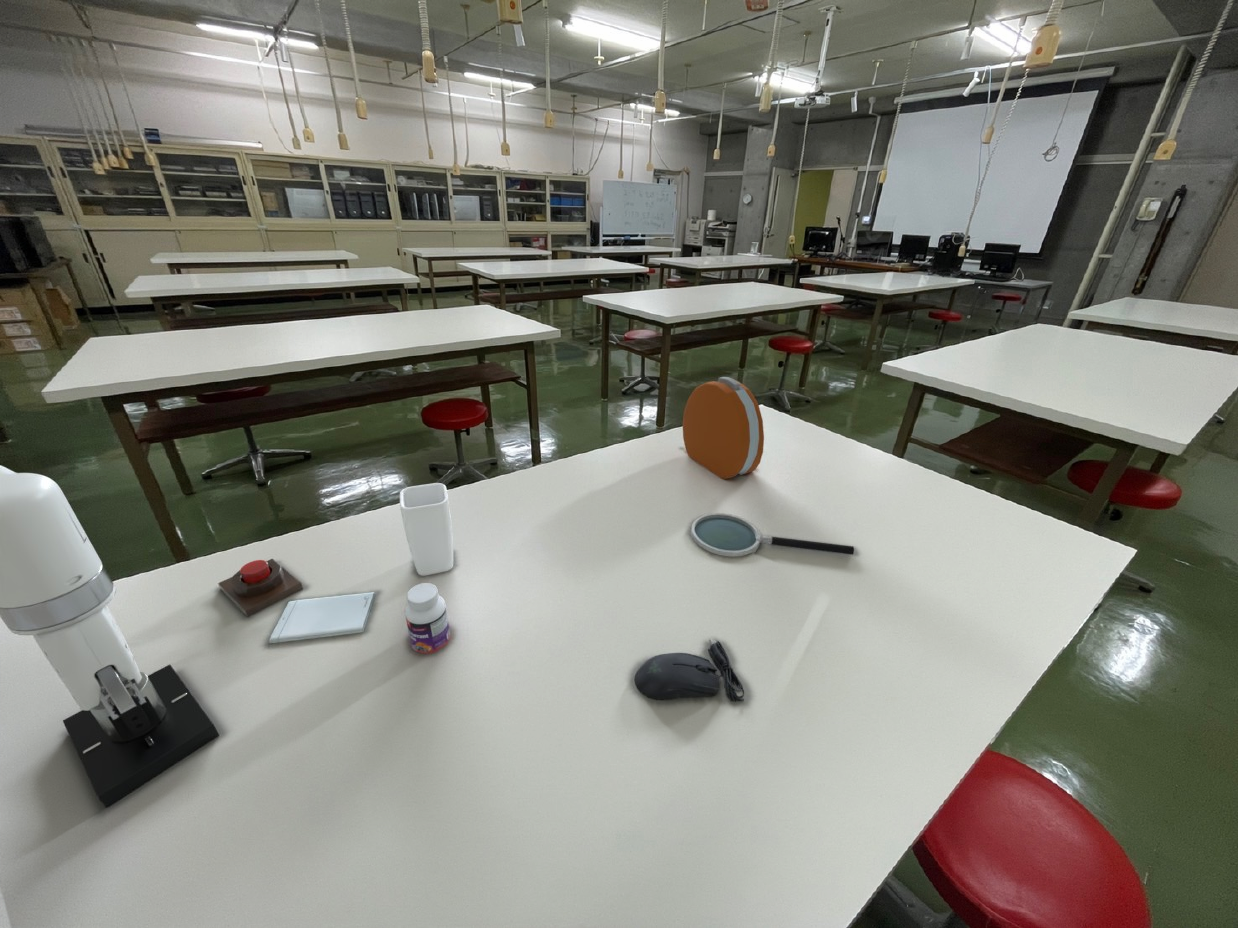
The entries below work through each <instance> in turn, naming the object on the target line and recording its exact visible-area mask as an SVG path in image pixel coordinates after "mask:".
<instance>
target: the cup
mask: <svg viewBox="0 0 1238 928" xmlns="http://www.w3.org/2000/svg"><path fill="white" fill-rule="evenodd" d="M399 508H400V509H399V510H400V513H401V518H402V519H401V520H402V523H403V528H404V532H405V533H404V534H405V537H406V541H407V545H408V549H409V552H410V555H411V558H412V562H413V564H414V567H415V570H416V572H417V574H418V575H419V576H429V575H430V576H431V575H436V574H441V573H445V572H448V571H450V570H451V569H453V567H454V537H453V524H452V517H451V515H452V514H451V509H450V502H449V496H448V490H447V486H446V485H445V484H444V483H440V482H433V483H427V484H420V485H413V486H407V487H405V488H403V489H402V490H400V492H399Z"/></svg>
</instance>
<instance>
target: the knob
mask: <svg viewBox="0 0 1238 928" xmlns="http://www.w3.org/2000/svg"><path fill="white" fill-rule="evenodd" d="M139 672H140V674H141V676H142V679H141V681H140V683H139V684H138V685H137V683H135V684H136V686H137V687H138V689H139V691H140V692H141V694H142V696H143V697H145V696H147V698H148V699H149V701H150V703H151V704H152V706H153V708H154V709H155V711H156V713H157V714H158V716H159V718H160V719H161V720H162V719H163V717H164V715H165V713H166V708H165V706H164V704H163V702H162V700H161V699H160V697H159V695H158V694H157V692H156V690H155V688H154V687H153V685H152V683H151V682H150V680H149V678H148V674H146V673H145V672H143V671H140V670H139ZM126 680H127V679H126V678H123V679H121V681H122V682H124V681H126ZM101 691H102V692H104V691H106V689H105V688H103V689H101ZM127 691H128V693H129V694H130V696H132V695H134V694H133V692H132V691H131V689H130V688H129V689H127ZM109 700H110V702H111V703H112V705H113V706H114V705H115V704H114V702H113V700H112V699H111V698H110V699H109ZM90 711H91V713H92V714H93V716H94V717H95V718H96V720H97V721H98V723H99V724H100V726H101V727H102V729H103V730H104V731H105V733H106V734H107V736H108V737H109V739H110V740H111V741H113V742H124V741H123V739H122V738H121V736H120V735H119V733H118V732H117V730H116V729H115V727H114V726H113V724H112V723H111V721H110V720H109V718H108V717H109V716H110V714H109V713H108V711H107V710H106V708H105V706H104V705H103V703H102V702H101V701H100V702H99V705H97V706H95V707H93V708H91V710H90ZM160 722H161V721H160ZM157 725H158V724H157ZM157 725H155V726H154V727H156V726H157ZM154 727H152V728H150V729H149V730H147V731H145V732H144V733H142V734H140V735H138V736H137V737H135V738H133V739H132V740H134V739H136V738H139V737H141V736H143V735H144V734H146V733H148V732H149V731H151V730H152V729H153V728H154ZM130 741H131V740H130Z"/></svg>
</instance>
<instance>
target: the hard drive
mask: <svg viewBox="0 0 1238 928" xmlns="http://www.w3.org/2000/svg"><path fill="white" fill-rule="evenodd" d="M375 598H376V592H375V591H373V592H372V591H371V592H363V593H362V592H361V593H353V594H343V595H334V596H324V597H316V598H306V599H297V600H290V601H288V603H287V604H286V606H285V608H284V610H283V612H282V614H281V615H280V618H279V619H278V621H277V623H276V625H275V627H274V629H273V631H272V633H271V635H270V636H269V639H268V643H269V644H275V643H283V642H292V641H293V642H294V641H301V640H308V639H317V638H325V637H326V638H327V637H334V636H343V635H351V634H359V633H364V631H365V629H366V625H367V622H368V619H369V616H370V613H371V610H372V606H373V604H374V601H375Z"/></svg>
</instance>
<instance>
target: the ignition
mask: <svg viewBox="0 0 1238 928" xmlns="http://www.w3.org/2000/svg"><path fill="white" fill-rule="evenodd" d="M265 561H266V562H267V563H268V566H269V569H270V574H269V576H268V577H267V578H265V579H262V580H260V581H258V582H253V583H246V582H244V580H243V578H242V575H241V573H240V569H239V570H238V571H237V572H236V573H234V574H233V575H232V576H231V577H228V578H226V579H224V580H222V581H220V582H218V583H217V584H218V587H219V589H220V590H221V591H222V593H223V594H224V595H225V596H226V597H227V598H228V599H229V600H230V601H231V602H232V603H233V604H234V605H235V606H236V607H237V608H238V609H239V610H240V611H241V612H242V613H243V614H244V615H245V616H246V617H247V618H249V617H251V616H253V615H255V614H258V613H259V612H262V611H263V610H266V609H267V608H269V607H271V606H273V605H275V604H276V603H279V602H281V601H283V600H284V599H287V598H288V597H291V596H292V595H294V594H296V593H298V592H300V591H302V590H304V587H303V584H302V582H301V581H300V580H299V579H298V578H296V577H295V576H294V575H293V574H291V573H290V572H289V571H288V570H287V569H286V568H284V567H283V566H282V565H281V564H280V563H279V562H277V561H276V560H275V559H274V558H270V559H268V560H265Z"/></svg>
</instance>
